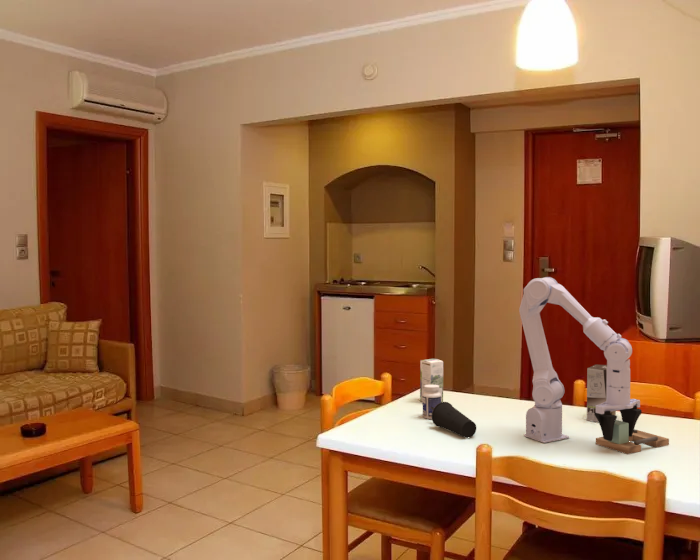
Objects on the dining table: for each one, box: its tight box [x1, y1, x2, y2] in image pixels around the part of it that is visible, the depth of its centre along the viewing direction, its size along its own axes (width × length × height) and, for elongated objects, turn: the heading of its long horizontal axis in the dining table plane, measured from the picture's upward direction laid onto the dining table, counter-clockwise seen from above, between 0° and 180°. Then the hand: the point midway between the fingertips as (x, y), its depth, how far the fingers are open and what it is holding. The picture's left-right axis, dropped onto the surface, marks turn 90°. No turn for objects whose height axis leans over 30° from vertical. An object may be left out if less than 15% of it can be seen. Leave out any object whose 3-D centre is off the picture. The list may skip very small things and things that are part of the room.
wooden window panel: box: [595, 429, 670, 455], centre depth 171 cm, size 16×10×3 cm, turn 118°
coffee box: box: [586, 363, 617, 423], centre depth 197 cm, size 9×6×16 cm
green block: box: [607, 419, 629, 444], centre depth 168 cm, size 4×4×5 cm
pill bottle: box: [422, 385, 441, 420], centre depth 201 cm, size 6×6×10 cm
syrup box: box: [419, 358, 444, 403], centre depth 222 cm, size 6×6×14 cm
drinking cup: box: [431, 401, 477, 439], centre depth 187 cm, size 8×8×20 cm
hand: (617, 437), depth 168 cm, fingers open, 7 cm apart
